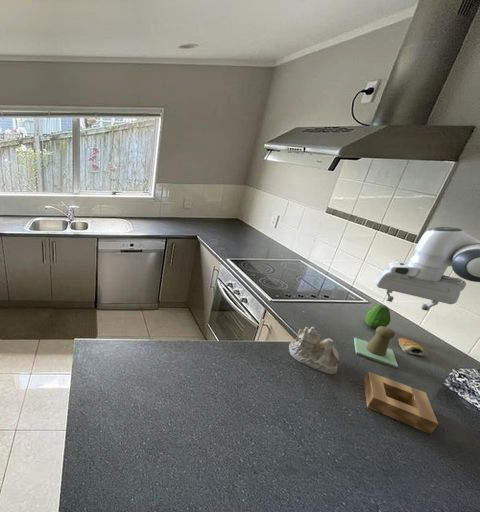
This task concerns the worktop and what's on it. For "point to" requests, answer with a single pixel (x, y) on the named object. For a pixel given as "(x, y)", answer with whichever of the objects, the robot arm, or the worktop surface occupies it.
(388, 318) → the avocado
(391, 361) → the mat
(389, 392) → the holder
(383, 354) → the cork
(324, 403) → the worktop surface
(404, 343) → the pastry
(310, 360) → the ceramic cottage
